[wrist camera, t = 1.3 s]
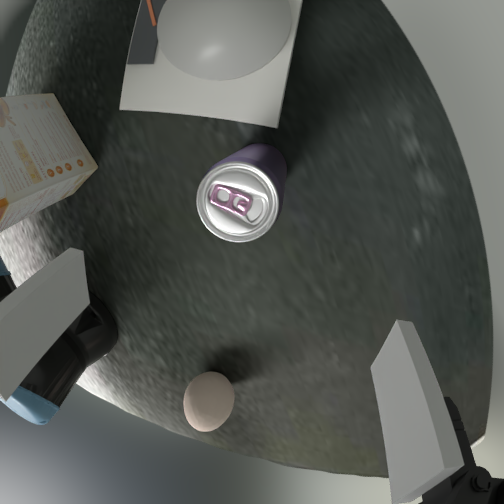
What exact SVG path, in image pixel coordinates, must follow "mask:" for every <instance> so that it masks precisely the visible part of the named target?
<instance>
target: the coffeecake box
mask: <svg viewBox="0 0 504 504" xmlns="http://www.w3.org/2000/svg"><path fill="white" fill-rule="evenodd" d="M97 168H98V166H97V164H96V162H95V161H94V159H93V158H92V156H91V155H90V153H89V152H88V150H87V148H86V147H85V145H84V144H83V142H82V140H81V139H80V137H79V136H78V134H77V132H76V131H75V129H74V127H73V126H72V124H71V122H70V121H69V119H68V117H67V116H66V114H65V112H64V111H63V109H62V107H61V105H60V104H59V102H58V100H57V98H56V97H55V95H54V93H48V94H30V95H18V96H9V97H0V232H2V231H3V230H5V229H7V228H9V227H10V226H12V225H14V224H16V223H18V222H19V221H21V220H23V219H25V218H27V217H29V216H30V215H32V214H34V213H36V212H38V211H40V210H42V209H44V208H46V207H48V206H50V205H52V204H54V203H56V202H58V201H60V200H62V199H64V198H66V197H68V196H70V195H72V194H74V193H75V192H76V191H77V189H78V188H79V187H80V186H81V185H82V184H83V183H84V182H85V181H86V180H87V179H88V178H89V176H90V175H91V174H92V173H93V172H94V171H95V170H96V169H97Z"/></svg>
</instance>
